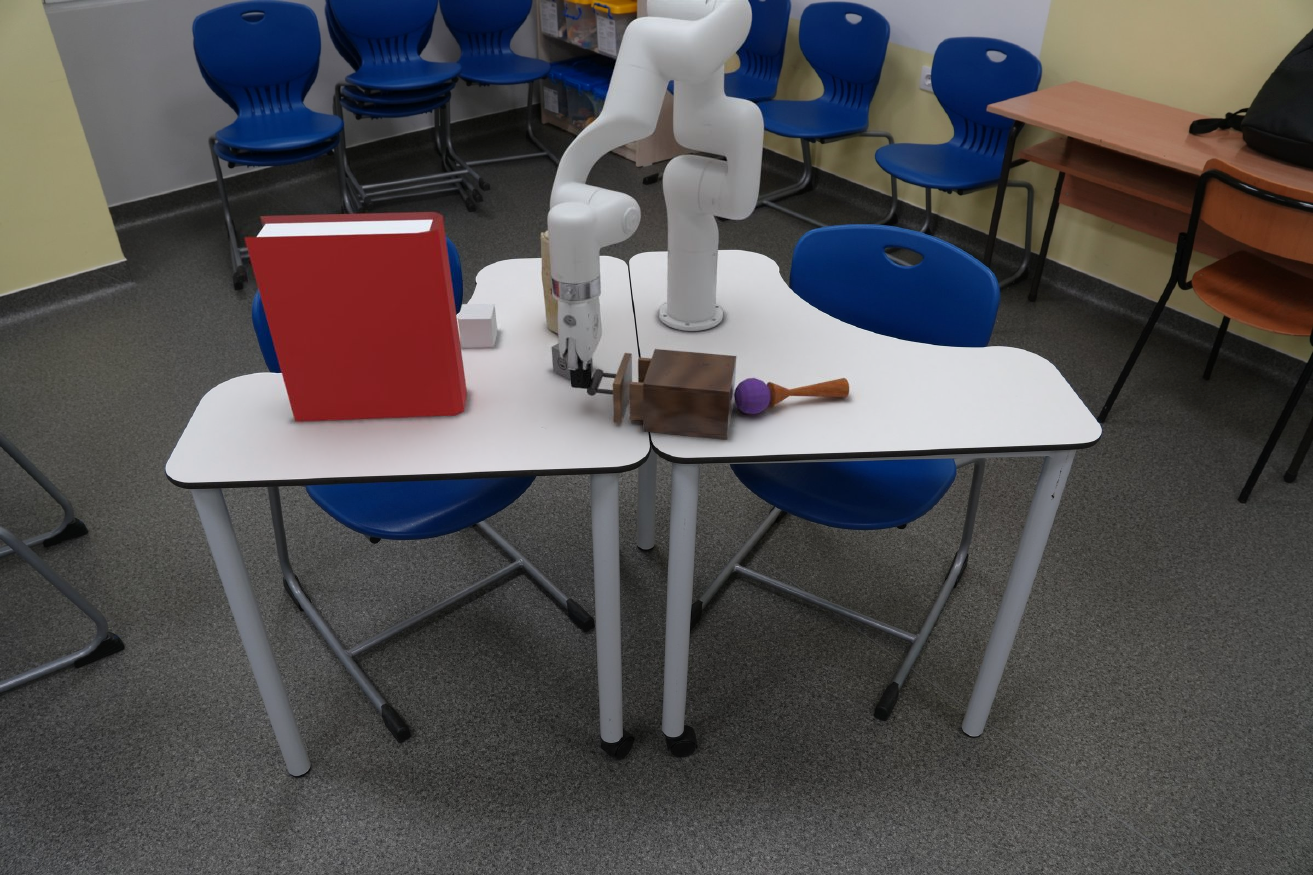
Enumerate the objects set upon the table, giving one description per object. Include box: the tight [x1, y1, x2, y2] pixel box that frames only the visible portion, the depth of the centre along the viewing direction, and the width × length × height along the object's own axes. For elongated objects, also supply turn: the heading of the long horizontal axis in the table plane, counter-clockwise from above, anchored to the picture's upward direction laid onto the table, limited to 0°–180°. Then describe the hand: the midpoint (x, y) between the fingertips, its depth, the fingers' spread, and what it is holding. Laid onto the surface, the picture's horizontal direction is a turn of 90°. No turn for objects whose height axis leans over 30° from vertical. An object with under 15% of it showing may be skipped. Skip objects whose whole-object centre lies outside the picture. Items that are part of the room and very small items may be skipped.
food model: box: [540, 229, 558, 334], centre depth 170 cm, size 10×7×20 cm
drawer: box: [586, 352, 652, 423], centre depth 148 cm, size 17×10×7 cm, turn 81°
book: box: [244, 211, 468, 422], centre depth 143 cm, size 27×8×32 cm, turn 94°
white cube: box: [457, 303, 498, 349], centre depth 169 cm, size 6×6×6 cm
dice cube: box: [550, 342, 594, 380], centre depth 160 cm, size 5×5×5 cm
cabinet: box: [642, 348, 737, 440], centre depth 147 cm, size 14×11×9 cm
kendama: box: [734, 377, 850, 415], centre depth 151 cm, size 6×6×20 cm
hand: (581, 385), depth 150 cm, fingers closed
